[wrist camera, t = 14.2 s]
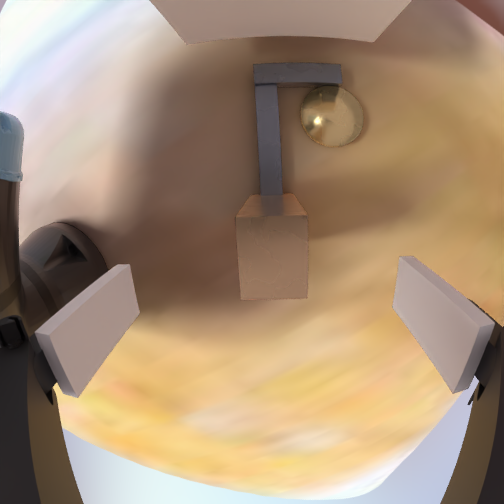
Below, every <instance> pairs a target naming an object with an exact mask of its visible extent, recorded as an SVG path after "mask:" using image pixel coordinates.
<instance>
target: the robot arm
mask: <svg viewBox="0 0 504 504" xmlns="http://www.w3.org/2000/svg"><path fill="white" fill-rule="evenodd" d="M23 141H24V130H23V126H22V124H21V122H20V121H19V120H18V118H16V117H15V116H13V115H11V114H8V113H5V112H1V111H0V504H84V503H83V501H82V498H81V495H80V492H79V489H78V487H77V484H76V481H75V477H74V474H73V471H72V467H71V464H70V460H69V456H68V453H67V448H66V445H65V440H64V436H63V431H62V426H61V421H60V415H59V409H58V403H57V397H56V393H55V391H54V389H53V386H54V385H55V384H56V382H57V383H58V385H59V387H60V389H61V390H62V392H63V394H66V395H69V396H73V397H76V398H78V397H79V396H80V394H81V393H82V391H83V390H84V389H85V387H86V386H87V384H88V383H89V381H90V380H91V379H92V377H93V376H94V374H95V373H96V372H97V370H98V369H99V367H100V366H101V365H102V363H103V362H104V361H105V359H106V358H107V356H108V355H109V354H110V352H111V351H112V350H113V348H114V347H115V346H116V344H117V343H118V342H119V340H120V339H121V338H122V336H123V335H124V334H125V332H126V331H127V330H128V328H129V327H130V326H131V324H132V323H133V322H134V320H135V319H136V318H137V317H138V315H139V314H140V311H139V307H138V302H137V298H136V293H135V289H134V284H133V279H132V274H131V268H130V264H117V265H116V266H114V267H113V268H112V269H110V270H109V271H108V269H107V266H106V264H105V262H104V260H103V258H102V256H101V254H100V252H99V251H98V249H97V248H96V246H95V245H94V244H93V243H92V242H91V240H90V239H89V238H88V237H87V236H86V235H85V234H83V233H82V232H81V231H80V230H78V229H77V228H75V227H73V226H71V225H68V224H64V223H52V224H49V225H46V226H44V227H41V228H39V229H37V230H35V231H34V232H33V233H31V234H30V235H29V237H28V238H27V239H26V240H25V241H24V242H23V243H22V244H21V245H20V246H19V192H20V181H22V178H23V174H22V171H21V163H22V151H23ZM392 308H393V309H394V310H395V312H396V313H397V314H398V316H399V317H400V318H401V320H402V321H403V322H404V324H405V325H406V326H407V328H408V329H409V330H410V332H411V333H412V335H413V336H414V337H415V339H416V340H417V341H418V343H419V344H420V346H421V347H422V349H423V350H424V351H425V353H426V354H427V356H428V357H429V359H430V360H431V361H432V363H433V364H434V366H435V367H436V369H437V370H438V372H439V373H440V375H441V376H442V378H443V379H444V381H445V382H446V384H447V385H448V387H449V388H450V390H451V392H452V393H456V392H460V391H463V390H466V389H468V388H469V386H470V384H471V382H472V380H473V378H474V376H476V378H477V379H478V380H479V383H478V385H477V387H476V389H475V391H474V393H473V395H472V397H471V398H470V400H469V402H468V405H470V404H471V402H472V401H473V404H472V409H471V414H470V418H469V422H468V426H467V430H466V434H465V437H464V441H463V444H462V448H461V451H460V454H459V457H458V460H457V463H456V466H455V469H454V472H453V475H452V477H451V480H450V482H449V485H448V487H447V490H446V492H445V494H444V497H443V499H442V501H441V503H440V504H504V326H503V327H502V326H501V325H499V324H498V323H497V322H496V321H495V320H494V319H493V318H492V317H491V316H489V315H488V314H487V313H485V311H484V310H482V309H481V308H479V306H478V305H477V304H475V303H474V302H473V301H472V300H470V299H468V298H466V297H465V296H463V295H462V294H461V293H460V292H459V291H457V290H456V289H455V288H454V287H452V286H451V285H450V284H449V283H447V282H446V281H445V280H444V279H442V278H441V277H440V276H439V275H437V274H436V273H435V272H433V271H432V270H431V269H429V268H428V267H427V266H425V265H424V264H423V263H421V262H420V261H419V260H417V259H416V258H415V257H413V256H400V257H399V265H398V273H397V280H396V287H395V294H394V300H393V306H392Z"/></svg>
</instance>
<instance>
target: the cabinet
mask: <svg viewBox="0 0 504 504" xmlns="http://www.w3.org/2000/svg"><path fill="white" fill-rule="evenodd" d="M150 1H151V2H152V4H153V5H154V6H155V7H156V8H157V9H158V11H159V12H160V13H161V14H162V15H163V16H164V18H165V19H166V20H167V21H168V22H169V24H170V25H171V26H172V27H173V28H174V30H175V31H176V32H177V33H178V35H179V36H180V37H181V38H182V40H183V41H184V42H185V43H186V45H189V44H195V43H201V42H208V41H216V40H224V39H234V38H246V37H264V36H312V37H329V38H341V39H351V40H359V41H366V42H373V43H374V41H375V40H376V39H377V38H378V37H379V36H380V35H381V34H382V32H383V31H384V30H385V29H386V28H387V27H388V26H389V25H390V24H391V23H392V21H393V20H394V19H395V18H396V17H397V16H398V15H399V14H400V13H401V12H402V11H403V10H404V9H405V7H406V6H407V5H408V4H409V3H410V2H411V1H412V0H150Z"/></svg>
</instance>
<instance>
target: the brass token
mask: <svg viewBox="0 0 504 504" xmlns="http://www.w3.org/2000/svg"><path fill="white" fill-rule="evenodd" d="M300 118H301V123H302V126H303V128H304V130H305V132H306V133H307V134H308V135H309V137H311V138H312V139H313V140H314V141H315V142H317V143H319V144H321V145H324V146H328V147H339V146H343V145H346V144H349V143H350V142H352V141H353V140H355V139H356V138H357V137H358V135H359V134H360V132H361V130H362V127H363V121H364V117H363V111H362V108H361V106H360V104H359V102H358V101H357V99H356V98H355V97H354V96H353V95H352V94H351V93H349V92H348V91H346V90H344V89H342V88H339V87H336V86H323V87H319V88H317V89H315V90H313V91H312V92H310V93H309V94H308V95H307V97H306V98H305V100H304V102H303V104H302V106H301V111H300Z"/></svg>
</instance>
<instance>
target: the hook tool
mask: <svg viewBox="0 0 504 504" xmlns="http://www.w3.org/2000/svg"><path fill="white" fill-rule="evenodd" d="M253 70H254V84H255V98H256V115H257V133H258V151H259V170H260V190H261V194H258V195H250V197H249V198H248V200H247V201H246V202H245V204H244V205H243V207H242V208H241V210H240V211H239V212H238V214H237V215H236V217H235V226H236V241H237V255H238V269H239V282H240V296H241V300H267V299H300V298H307V294H308V214H307V213H306V212H305V210H304V209H303V207H302V206H301V204H300V203H299V201H298V200H297V199H296V197H295V196H294V194H293V193H287V194H283V189H282V165H281V145H280V127H279V110H278V95H277V87H323V86H336V87H340V86H341V85H342V84H343V83H342V74H341V65H340V64H324V63H264V64H253Z"/></svg>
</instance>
